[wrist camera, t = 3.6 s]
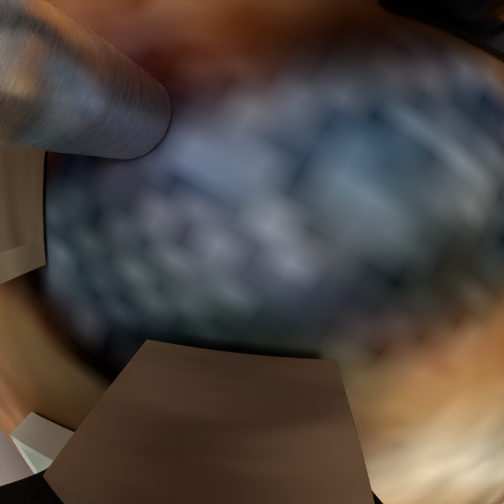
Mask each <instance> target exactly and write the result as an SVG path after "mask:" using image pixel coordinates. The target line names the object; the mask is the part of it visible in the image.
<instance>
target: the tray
mask: <svg viewBox="0 0 504 504" xmlns="http://www.w3.org/2000/svg"><path fill="white" fill-rule="evenodd" d="M74 433H75V432H72V431H70V430H68V429H66V428H63V427H61V426H59V425H57V424H55V423H53V422H51V421H49V420H47V419H45V418H43V417H41V416H39V415H37V414H35V413H33V412H31V413H30V414H29V415H28V416H27V417H26V418H25V419H24V420H23V421H22V422H21V423H20V424H19V425H18V426H17V427H16V428H15V430H14V431H13V432H12V433H11V434H10V436H11V438H12V440H13V441H14V443H15V445H16V446H17V448H18V450H19V451H20V453H21V454H22V456H23V457H24V459H25V461H26V462H27V464H28V465H29V467H30V468H31V469H32V471H33V472H34V474H36V473H38V472H41V471H43V470H45V469H47V468H48V467H49V466H50V465H51V464H52V462H53V461H54V459H55V458H56V457H57V455H58V454H59V453H60V451H61V450H62V449H63V447H64V446H65V445H66V443H67V442H68V441H69V439H70V438H71V437H72V435H73V434H74Z"/></svg>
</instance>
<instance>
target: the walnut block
mask: <svg viewBox="0 0 504 504" xmlns="http://www.w3.org/2000/svg"><path fill="white" fill-rule="evenodd" d="M43 477H44V478H45V480H46V481H47V482H48V484H49V485H50V487H51V488H52V489H53V491H54V492H55V493H56V494H57V496H58V497H59V498H60V500H61V501H62V502H63V503H64V504H375V503H374V499H373V494H372V490H371V486H370V482H369V478H368V474H367V470H366V466H365V462H364V458H363V454H362V450H361V446H360V443H359V439H358V435H357V431H356V428H355V424H354V421H353V417H352V413H351V410H350V406H349V403H348V400H347V396H346V393H345V389H344V386H343V383H342V379H341V376H340V373H339V369H338V366H337V363H336V360H321V359H301V358H286V357H273V356H262V355H251V354H242V353H233V352H225V351H217V350H209V349H202V348H195V347H189V346H182V345H176V344H170V343H164V342H159V341H153V340H148V339H147V340H146V341H145V343H144V344H143V345H142V346H141V348H140V349H139V350H138V351H137V353H136V354H135V355H134V356H133V358H132V359H131V360H130V361H129V363H128V364H127V365H126V366H125V368H124V369H123V370H122V372H121V373H120V374H119V375H118V377H117V378H116V379H115V380H114V382H113V383H112V384H111V386H110V387H109V388H108V389H107V391H106V392H105V393H104V395H103V396H102V397H101V398H100V400H99V401H98V402H97V404H96V405H95V406H94V408H93V409H92V410H91V411H90V413H89V414H88V415H87V417H86V418H85V419H84V421H83V422H82V423H81V425H80V426H79V427H78V429H77V430H76V431H75V433H74V434H73V435H72V437H71V438H70V439H69V441H68V442H67V443H66V445H65V446H64V447H63V449H62V450H61V451H60V453H59V454H58V455H57V457H56V458H55V459H54V461H53V462H52V464H51V465H50V466H49V468H48V469H47V470H46V472H45V473H44V475H43Z"/></svg>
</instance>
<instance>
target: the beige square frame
mask: <svg viewBox="0 0 504 504" xmlns="http://www.w3.org/2000/svg"><path fill="white" fill-rule="evenodd" d="M44 156H45V151H36V150H21V149H1V148H0V284H2V283H4V282H6V281H8V280H11V279H13V278H15V277H17V276H20V275H22V274H24V273H27V272H29V271H32V270H34V269H36V268H39V267H41V266H44V265H46V263H45V251H44V235H43V172H44Z"/></svg>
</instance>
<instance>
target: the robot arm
mask: <svg viewBox="0 0 504 504" xmlns="http://www.w3.org/2000/svg"><path fill="white" fill-rule="evenodd" d="M378 1H379V3H380V4H381V5H382V6H383V7H384V8H386V9H387V10H390V11H392V12H395V13H399V14H402V15H405V16H408V17H411V18H414V19H417V20H420V21H423V22H426V23H428V24H431V25H434V26H436V27H439V28H441V29H444V30H446V31H449V32H451V33H453V34H456V35H458V36H460V37H462V38H464V39H467V40H469V41H471V42H473V43H475V44H477V45H479V46H481V47H483V48H485V49H486V50H488V51H490V52H492V53H494V54H496V55H497V56H499V57H501V58H503V59H504V0H396V2H395V1H393V0H378ZM48 468H49V467H48ZM48 468H47V469H48ZM47 469H45V470H43V471H41V472H38V473H36V474H34V475H32V476H29V477H27V478H24V479H21V480H18V481H15V482H12V483H9V484H6V485H3V486H0V504H64V503H63V502H62V501H61V500H60V498H59V497H58V496H57V494H56V493H55V492H54V491H53V489H52V488H51V487H50V485H49V484H48V482H47V481H46V480H45V478H44V477H43V475H44V473H45V472H46V470H47ZM372 494H373V499H374V503H375V504H383V503H382V502H381V501H380V499H379V498H378V497H377V496H376V495H375V494H374V492H373V491H372Z"/></svg>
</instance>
